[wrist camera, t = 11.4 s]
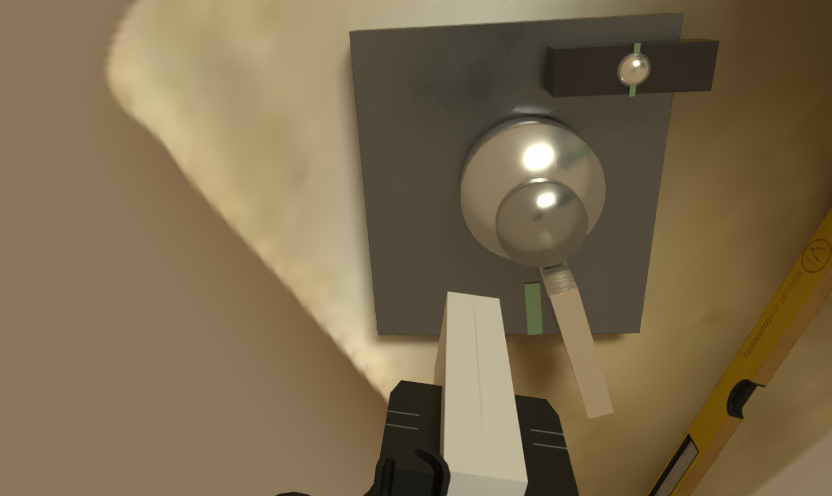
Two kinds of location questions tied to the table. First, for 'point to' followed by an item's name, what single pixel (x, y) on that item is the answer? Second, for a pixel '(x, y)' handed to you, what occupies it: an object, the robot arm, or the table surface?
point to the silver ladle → (541, 222)
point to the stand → (490, 106)
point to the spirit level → (752, 365)
